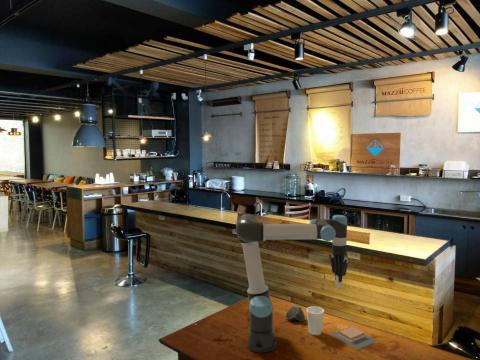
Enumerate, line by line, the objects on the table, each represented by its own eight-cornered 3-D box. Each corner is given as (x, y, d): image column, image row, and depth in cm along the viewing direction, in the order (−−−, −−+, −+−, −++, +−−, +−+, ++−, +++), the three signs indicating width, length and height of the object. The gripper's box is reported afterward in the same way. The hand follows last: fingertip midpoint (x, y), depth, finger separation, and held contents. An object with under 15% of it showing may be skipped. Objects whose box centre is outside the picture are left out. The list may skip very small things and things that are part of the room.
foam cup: (324, 338, 195) (324, 314, 194) (306, 337, 197) (306, 313, 196) (323, 329, 205) (323, 306, 204) (306, 328, 207) (306, 305, 205)
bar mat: (357, 350, 183) (357, 349, 183) (330, 335, 199) (330, 334, 199) (377, 342, 191) (377, 340, 191) (350, 327, 207) (350, 326, 207)
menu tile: (339, 335, 197) (351, 342, 190) (339, 331, 197) (351, 337, 190) (352, 330, 202) (364, 337, 195) (352, 326, 202) (364, 332, 195)
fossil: (281, 316, 221) (288, 300, 222) (293, 320, 225) (299, 304, 226) (291, 323, 211) (298, 306, 213) (303, 327, 215) (310, 311, 216)
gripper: (353, 246, 195) (352, 289, 197) (335, 240, 206) (334, 282, 208) (343, 248, 191) (342, 292, 193) (325, 242, 203) (324, 284, 205)
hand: (338, 287), depth 201 cm, fingers closed
